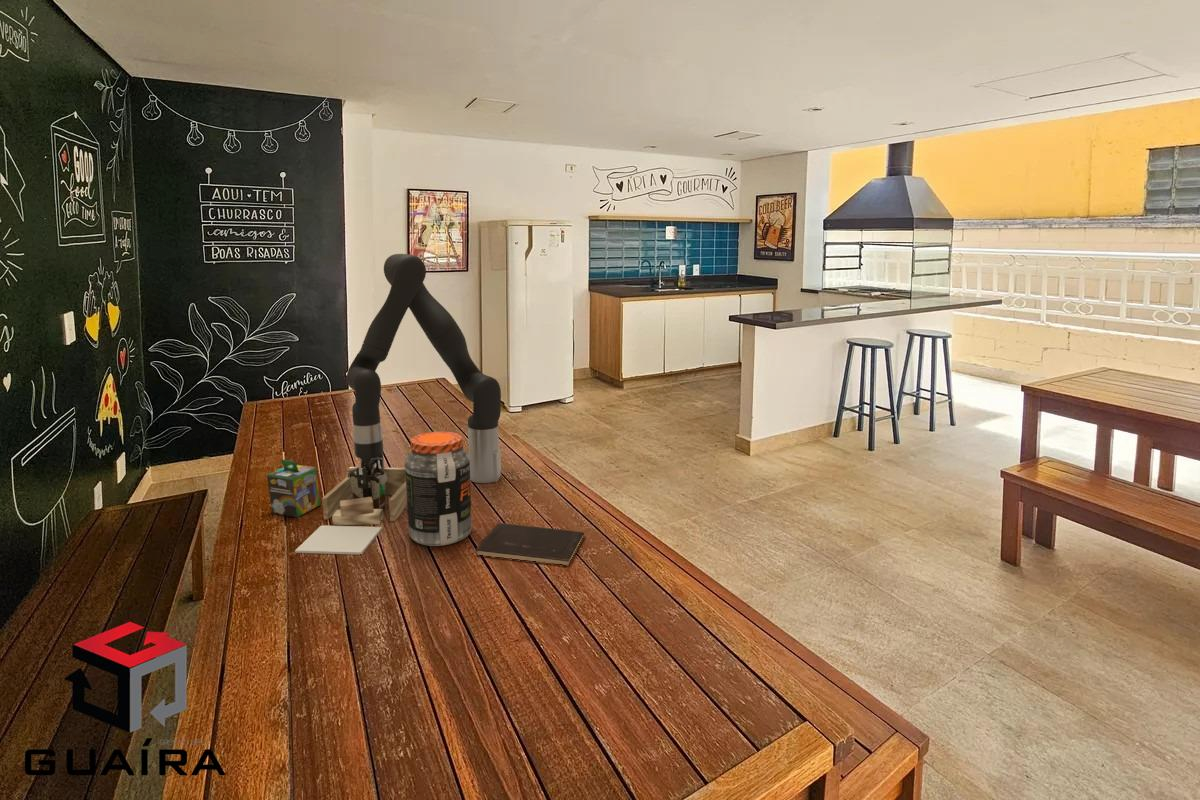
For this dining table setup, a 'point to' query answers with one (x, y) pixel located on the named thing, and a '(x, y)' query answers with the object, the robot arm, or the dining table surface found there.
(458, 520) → the supplement tub
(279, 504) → the chalk box
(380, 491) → the food container
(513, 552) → the hardcover book
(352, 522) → the offcut lower
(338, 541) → the mat
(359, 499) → the offcut upper
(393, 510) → the frame
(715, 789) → the dining table surface
